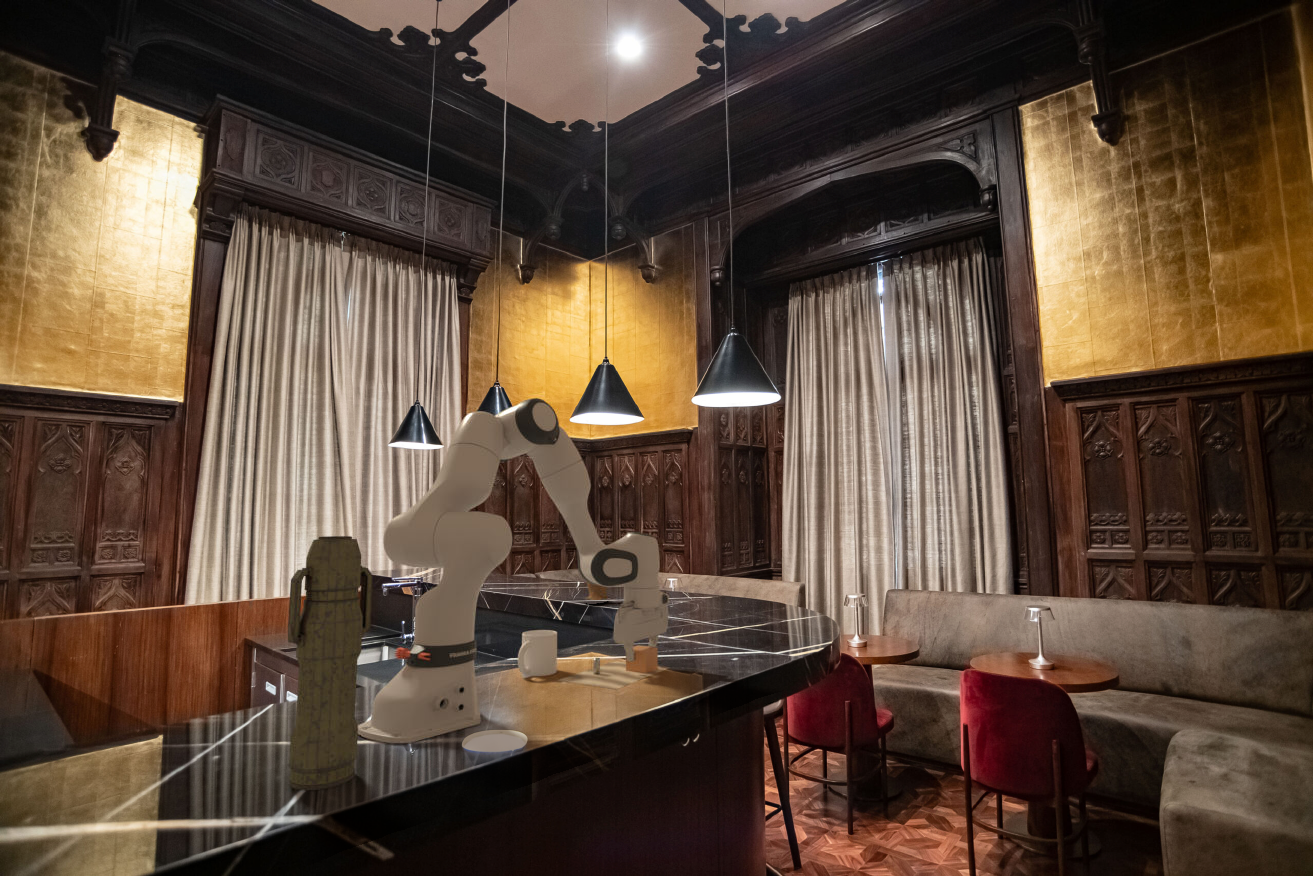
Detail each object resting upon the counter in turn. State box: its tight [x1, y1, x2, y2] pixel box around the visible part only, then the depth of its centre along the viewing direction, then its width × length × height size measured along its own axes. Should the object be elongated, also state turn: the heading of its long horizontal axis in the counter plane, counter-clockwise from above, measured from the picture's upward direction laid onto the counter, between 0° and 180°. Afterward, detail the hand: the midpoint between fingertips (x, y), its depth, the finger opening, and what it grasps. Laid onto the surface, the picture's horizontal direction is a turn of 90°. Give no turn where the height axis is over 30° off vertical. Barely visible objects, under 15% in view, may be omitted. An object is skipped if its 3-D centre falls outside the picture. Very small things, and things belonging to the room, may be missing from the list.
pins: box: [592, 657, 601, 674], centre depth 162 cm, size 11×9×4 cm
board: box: [556, 660, 670, 691], centre depth 159 cm, size 24×16×1 cm, turn 150°
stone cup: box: [584, 581, 611, 600], centre depth 299 cm, size 15×12×15 cm
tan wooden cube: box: [625, 644, 659, 673], centre depth 164 cm, size 6×6×5 cm
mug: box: [517, 629, 558, 679], centre depth 160 cm, size 12×8×10 cm
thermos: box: [287, 535, 374, 791], centre depth 101 cm, size 9×12×35 cm
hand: (641, 657), depth 164 cm, fingers open, 8 cm apart
